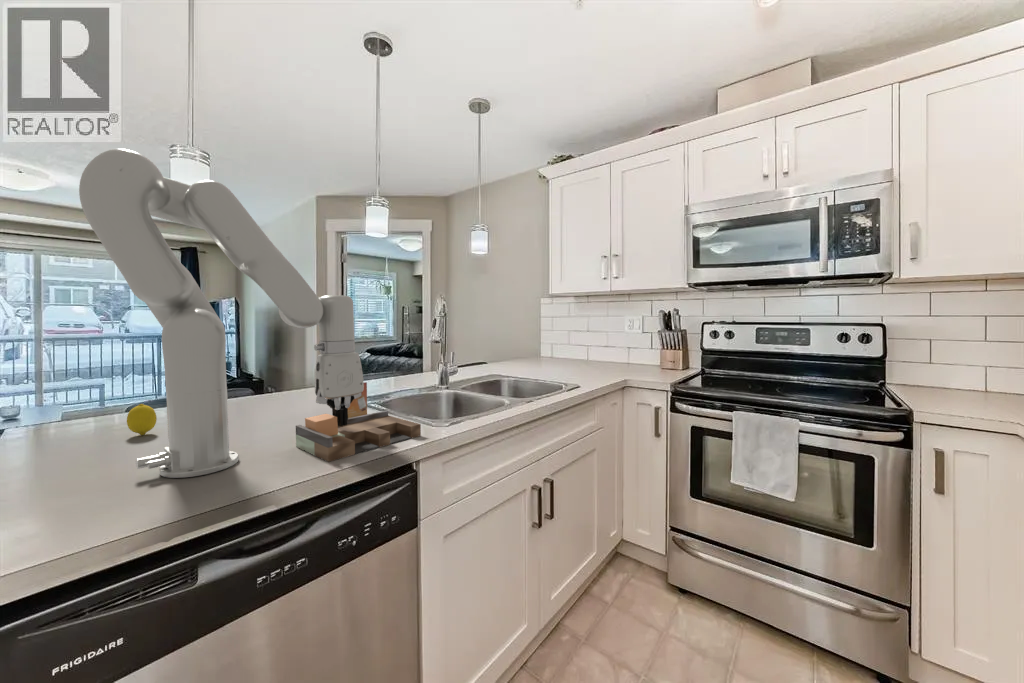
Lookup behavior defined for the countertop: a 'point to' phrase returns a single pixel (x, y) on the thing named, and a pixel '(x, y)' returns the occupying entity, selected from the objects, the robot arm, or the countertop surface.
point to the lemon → (141, 419)
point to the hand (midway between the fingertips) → (340, 424)
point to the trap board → (357, 436)
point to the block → (323, 424)
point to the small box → (358, 404)
